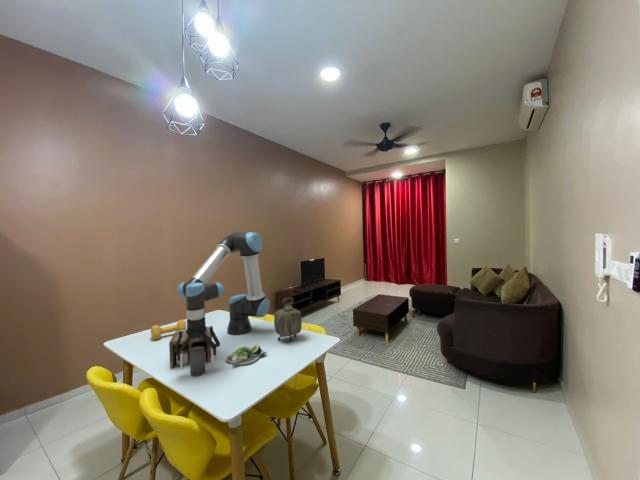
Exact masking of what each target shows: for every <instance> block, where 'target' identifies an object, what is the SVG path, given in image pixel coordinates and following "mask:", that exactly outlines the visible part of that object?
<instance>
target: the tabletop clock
mask: <svg viewBox="0 0 640 480" xmlns="http://www.w3.org/2000/svg"><path fill="white" fill-rule="evenodd" d="M286 300H292V301H291V302H286V303H284V302H285V301H286ZM281 302H282V305H284V307H283V308H281V309H278V310H276V311H275V313H274V318H273V319H274V320H273V321H274V322H273V324H274V330H275V332H276V334H277V335H279V337H277V341H280V340H281V338H287V337H289V340H288V341H289V342H292V341H293V339H292V336H294V337H297V335H298V334H300V333H301V332H302V323H303V322H302V321H303V320H302V313H301V310H298V309H297V308H294V307H292V306H291V305H292V304H293V303H294V299H293V298H292V297H286V298H284V299H283V300H282V301H281Z"/></svg>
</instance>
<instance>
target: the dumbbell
mask: <svg viewBox="0 0 640 480" xmlns="http://www.w3.org/2000/svg"><path fill="white" fill-rule="evenodd" d="M186 329H187V321H185V319H180V320H178V321H177V323H176V325H171V326H166V327H161V326H159V325H158V324H156V325H152V326H151V328H150V336H151V340H153V341H157V340H160V338H161V336H162V335H163V334H169V333H172V332H173V333H174V332H175V331H178V330H186Z"/></svg>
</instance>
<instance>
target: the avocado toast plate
mask: <svg viewBox="0 0 640 480" xmlns="http://www.w3.org/2000/svg"><path fill="white" fill-rule="evenodd" d="M266 354H267V351H264V350H263V349H261V345H259V344H255V345H253V347H252V346H243V347H242V346H241V347H239V348H237V349H235V350H234V351H232V352H231V353H229V354H228V355H227V356H225V360H226V362H227V363H229V364H230V365H232V366H233V367H235V366H244V365H245V366H246V365H248V364H253V363H254V362H256V361H257V360H259V359H260V358H261V357H262V356H264V355H266ZM234 357H236V360H233V358H234Z"/></svg>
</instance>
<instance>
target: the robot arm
mask: <svg viewBox="0 0 640 480" xmlns="http://www.w3.org/2000/svg"><path fill="white" fill-rule="evenodd" d="M262 249H263V239H262V237H261V235H259V234H258V233H257V232H251V231H248V232H247V231H246V232H245V231H243V232H233V233H230V234H228V235H226V236H225V237H223V239H221V240H220V241H219V242H218V244H217V245H216V246H215V250H214V251H213V252H212V253H211V254H210V255H209V256H208V258H207V259H206V260H205V261H204V262H203V263H202V265H200V267H199V268H198V270H197V271H196V272H195V273H194V274H193V275H192V277H191V278H190V279H189V280H188V281H185V282H181V283H180V284H179V285H178V287H177V294H178V295H179V297H182V298H185V303H186V305H185V307H186V329H187V330H180V332H179V338H178V340H177V343H176V345H175V347H174V350H173V353H177V355H178V361H180V364H179V365H180V370H181V369H184V364H183V351H182V350H183V349H184V347H185V346H186V344H187V343H188V342H189V341H190V339H191V338H192V339H196V338H201V337H202V338H203V339H205V341H206V342H207V343H208V344H209V345H210V346H211V347H212V348H211V364H214V361H215V360H214V359H215V358H214V357H215V356H216V355H217V348H218V347H220V345H221V342H220V340H219V338H218V337H217V335H216V333H215V331H214V326H213V325H210V327H209V326H206V317H205V316H206V307H205V306H206V302H210V301H211V300H212V301H213V300H214V299H218V298H220V297H221V296H222V295H223V294H224V291H225V289H224V285H223V284H222V283H220V282H211V283H207V282H208V281H209V280H210V278H211V277H212V276H213V275H214V273H216V271H218V268H219V267H220V266H221V265H222V264H223V262H224V261H225V260H226V258H227V257H230V256H231V255H232V254H233V253H235V252H239V256H240V257H241V258H242V259H243V266H244V273H245V282H246V288H247V293H242V294H241V293H240V294H236V295H233V296H230V298H229V301H228V302H229V303H228V306H229V307H228V308H229V322H228V325H227V329H226V332H227V334H228V335H232V336H233V335H234V336H238V335H244V334H248V333H250V332H251V331H252V325H251V322H250V319H249V317H255V318H263V317H266V316H267V314H268V313H269V310H270V306H271V301H270V300H269V298H266V294H265V293H264V292H263V287H262V281H261V279H262V278H261V274H260V265H259V257H258V256H259V255H260V253H261V251H262ZM206 330H208V332H210V334H211V336H212V340H211V339H210V338H209V337H208V336H207V335H206V333H205V332H206ZM185 333H187V335H188V338H187V339H186V340H185V342H184V343H183V344H182V346H181V347H180V349H177V348H178V346H179V343H180V341H181V338H182V336H183V335H184V334H185ZM181 351H182V352H181Z"/></svg>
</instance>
